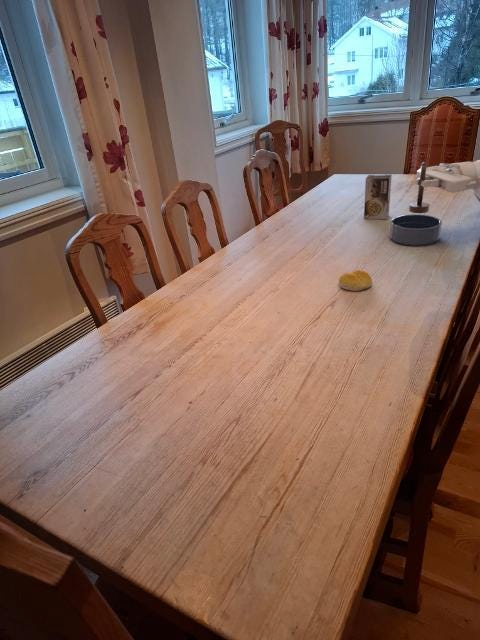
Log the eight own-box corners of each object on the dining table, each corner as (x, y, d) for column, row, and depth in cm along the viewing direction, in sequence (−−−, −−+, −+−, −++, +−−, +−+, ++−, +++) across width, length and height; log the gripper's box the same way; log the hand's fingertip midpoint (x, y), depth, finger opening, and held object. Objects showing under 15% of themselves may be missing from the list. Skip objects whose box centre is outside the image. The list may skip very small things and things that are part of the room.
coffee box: (389, 215, 174) (392, 174, 166) (386, 219, 169) (390, 177, 161) (366, 214, 178) (368, 174, 170) (363, 218, 173) (365, 177, 165)
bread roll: (333, 283, 125) (334, 270, 123) (360, 277, 127) (361, 264, 125) (348, 294, 118) (349, 281, 116) (377, 287, 120) (378, 274, 118)
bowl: (437, 231, 154) (440, 214, 151) (440, 247, 141) (443, 229, 138) (390, 230, 159) (391, 214, 156) (388, 245, 146) (390, 228, 143)
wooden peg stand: (428, 208, 143) (434, 159, 135) (428, 213, 138) (435, 163, 131) (408, 208, 145) (413, 160, 137) (409, 213, 140) (414, 164, 132)
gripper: (478, 194, 132) (437, 200, 130) (438, 181, 149) (401, 186, 147) (482, 172, 128) (440, 179, 126) (440, 162, 146) (403, 167, 144)
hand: (419, 183), depth 137 cm, fingers closed on wooden peg stand
